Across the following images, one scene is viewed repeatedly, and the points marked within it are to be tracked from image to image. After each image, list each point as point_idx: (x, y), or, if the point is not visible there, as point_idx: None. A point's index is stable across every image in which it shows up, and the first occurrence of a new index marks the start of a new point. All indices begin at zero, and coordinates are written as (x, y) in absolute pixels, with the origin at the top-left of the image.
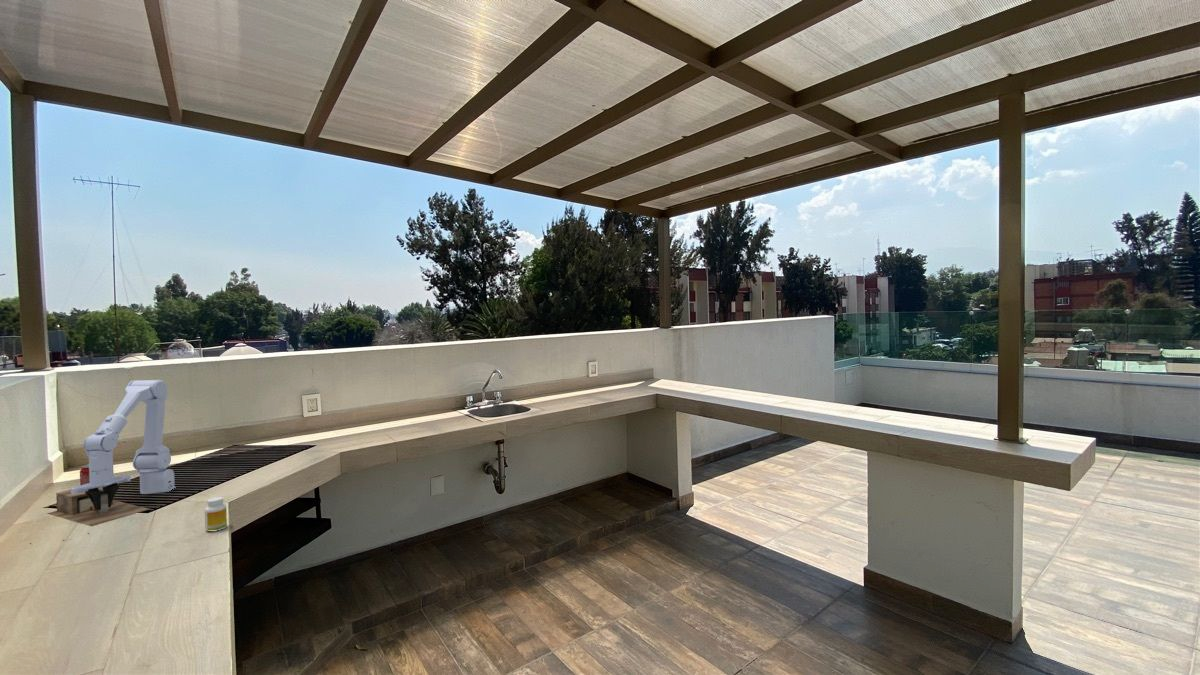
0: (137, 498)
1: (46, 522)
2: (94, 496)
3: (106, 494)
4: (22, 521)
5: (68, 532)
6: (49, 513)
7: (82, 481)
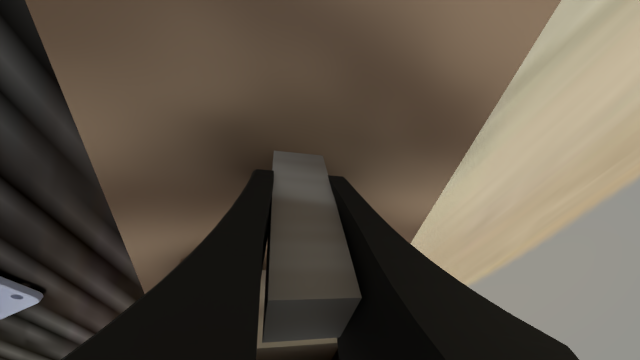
0: (29, 268)
1: None
2: (486, 302)
3: (279, 306)
4: None
5: (609, 25)
6: None
7: None
